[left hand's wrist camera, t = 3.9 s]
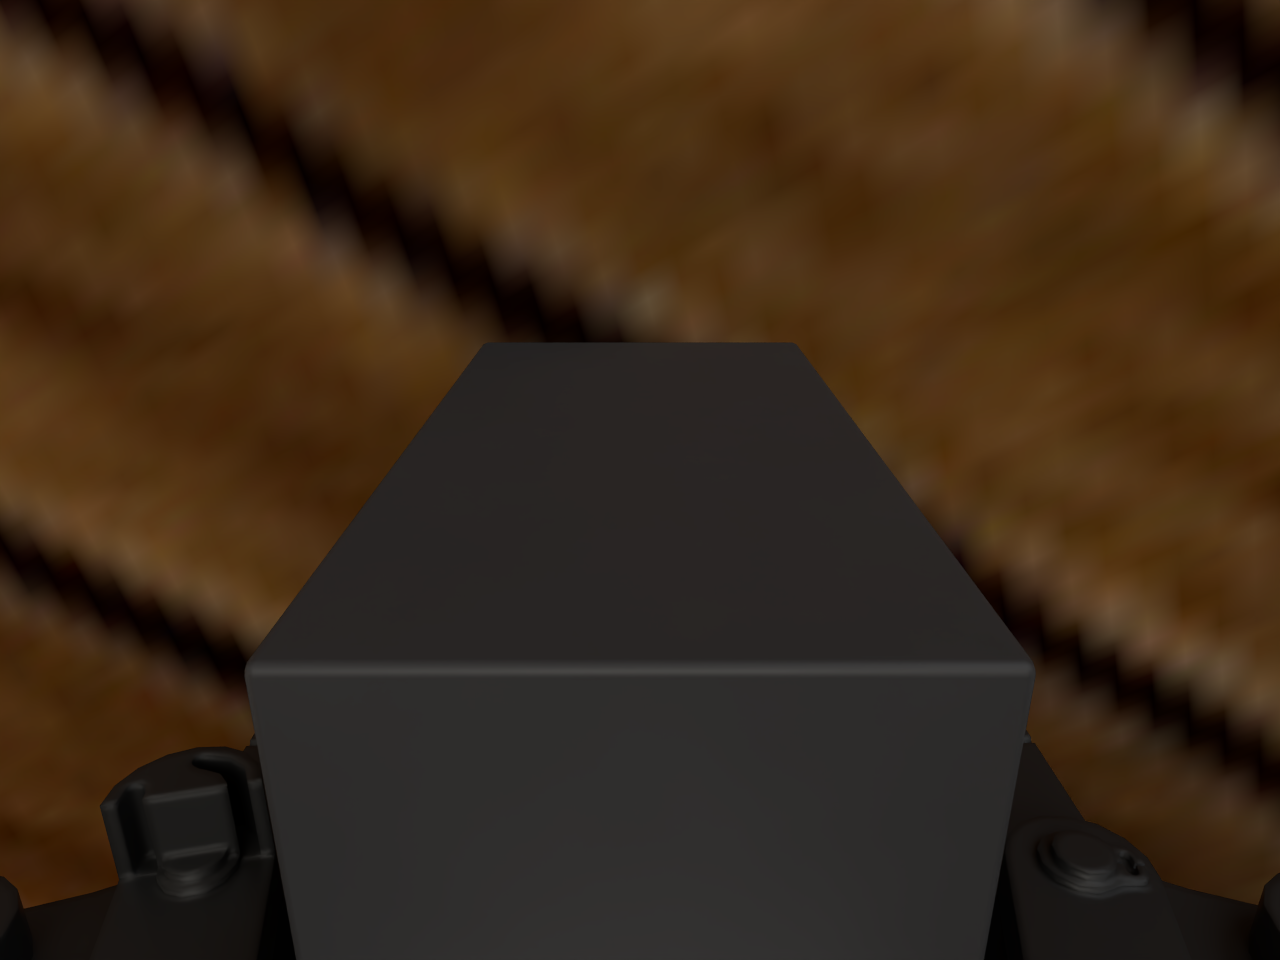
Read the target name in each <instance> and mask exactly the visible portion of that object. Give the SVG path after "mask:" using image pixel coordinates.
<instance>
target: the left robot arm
mask: <svg viewBox="0 0 1280 960" xmlns="http://www.w3.org/2000/svg"><path fill="white" fill-rule="evenodd" d="M100 808H101V812H102V816H103V820H104V824H105V827H106V831H107V835H108V839H109V842H110V846H111V850H112V854H113V858H114V861H115V865H116V869H117V873H118V877H119V882H118V885H116V886H112V887H109V888H106V889H103V890H100V891H96V892H93V893H89V894H85V895H81V896H76V897H72V898H68V899H64V900H59V901H55V902H51V903H47V904H43V905H38V906H34V907H30V908H26V909H23V905H22V902H21V899H20V896H19V893H18V890H17V888H16V887H14V886H13V885H12V884H11V883H10V882H9V881H8V880H7V879H6V878H4V877H2V876H0V960H296V955H295V950H294V944H293V939H292V933H291V928H290V922H289V917H288V911H287V906H286V900H285V895H284V890H283V884H282V879H281V873H280V868H279V862H278V857H277V851H276V846H275V840H274V835H273V829H272V824H271V818H270V813H269V807H268V802H267V796H266V791H265V785H264V780H263V774H262V769H261V763H260V758H259V752H258V747H257V741H256V736H255V734H254V735H253V737H252V739H251V740H250V746H246V748H245V749H244V751H240V750H236V749H232V748H229V747H197V748H193V749H189V750H185V751H181V752H177V753H173V754H169V755H166V756H164V757H162V758H159V759H157V760H155V761H153V762H151V763H149V764H146V765H144V766H142V767H140V768H138V769H137V770H135V771H134V772H133V773H131V774H130V775H129V776H127V777H126V778H124V779H123V780H122V781H120V782H119V783H118V784H116V785H115V786H114V787H113V789H112V790H111V791H110V793H109V794H108V795H107V797H106V798H105V800H104V801H103V802H102V804H101V805H100ZM984 960H1280V873H1278V874H1277V875H1276V876H1275V877H1273V878H1272V879H1271V880H1270V881H1269V882H1268V883H1267V884H1266V885H1265V886H1264V889H1263V892H1262V895H1261V899H1260V902H1259V905H1254V904H1250V903H1245V902H1241V901H1237V900H1233V899H1228V898H1224V897H1220V896H1216V895H1211V894H1207V893H1203V892H1199V891H1195V890H1190V889H1187V888H1184V887H1180V886H1177V885H1174V884H1171V883H1167V882H1164V881H1162V880H1161V878H1160V877H1159V875H1158V874H1157V872H1156V871H1155V869H1154V867H1153V866H1152V864H1151V863H1150V861H1149V860H1148V858H1147V857H1146V856H1145V855H1144V854H1142V853H1141V852H1140V851H1139V850H1138V849H1136V848H1135V847H1134V846H1133V845H1132V844H1131V843H1129V842H1128V841H1127V840H1126V839H1125V838H1123V837H1121V836H1119V835H1117V834H1115V833H1113V832H1111V831H1109V830H1107V829H1105V828H1103V827H1101V826H1099V825H1097V824H1094V823H1091V822H1087V821H1085V820H1084V819H1083V817H1082V816H1081V814H1080V812H1079V811H1078V809H1077V808H1076V806H1075V805H1074V803H1073V802H1072V800H1071V799H1070V797H1069V795H1068V794H1067V792H1066V791H1065V789H1064V788H1063V786H1062V785H1061V783H1060V782H1059V780H1058V778H1057V777H1056V775H1055V774H1054V772H1053V771H1052V769H1051V768H1050V766H1049V765H1048V763H1047V761H1046V760H1045V758H1044V757H1043V755H1042V754H1041V752H1040V751H1039V749H1038V748H1037V746H1036V744H1035V743H1031V737H1030V735H1029V734H1028V732H1027V731H1025V736H1024V742H1023V747H1022V753H1021V758H1020V764H1019V769H1018V775H1017V780H1016V786H1015V791H1014V797H1013V802H1012V808H1011V813H1010V819H1009V824H1008V830H1007V835H1006V841H1005V846H1004V852H1003V857H1002V863H1001V868H1000V874H999V879H998V885H997V890H996V896H995V901H994V907H993V912H992V918H991V923H990V928H989V934H988V939H987V945H986V950H985V956H984Z"/></svg>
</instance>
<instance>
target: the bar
mask: <svg viewBox="0 0 1280 960" xmlns="http://www.w3.org/2000/svg"><path fill="white" fill-rule="evenodd" d="M245 681H246V686H247V692H248V697H249V703H250V708H251V714H252V719H253V725H254V730H255V736H256V741H257V747H258V752H259V758H260V763H261V769H262V774H263V780H264V785H265V791H266V796H267V802H268V807H269V813H270V818H271V824H272V829H273V835H274V840H275V846H276V851H277V857H278V862H279V868H280V873H281V879H282V884H283V890H284V895H285V900H286V906H287V911H288V917H289V922H290V928H291V933H292V939H293V944H294V950H295V955H296V960H984V956H985V950H986V945H987V939H988V934H989V928H990V923H991V918H992V912H993V907H994V901H995V896H996V890H997V885H998V879H999V874H1000V868H1001V863H1002V857H1003V852H1004V846H1005V841H1006V835H1007V830H1008V824H1009V819H1010V813H1011V808H1012V802H1013V797H1014V791H1015V786H1016V780H1017V775H1018V769H1019V764H1020V758H1021V753H1022V747H1023V742H1024V736H1025V731H1026V725H1027V720H1028V714H1029V709H1030V703H1031V698H1032V692H1033V687H1034V681H1035V667H1034V664H1033V661H1032V660H1031V659H1030V657H1029V656H1028V655H1027V653H1026V652H1025V651H1024V649H1023V648H1022V647H1021V645H1020V644H1019V643H1018V641H1017V640H1016V639H1015V637H1014V636H1013V635H1012V633H1011V632H1010V631H1009V629H1008V628H1007V627H1006V625H1005V624H1004V623H1003V621H1002V620H1001V618H1000V617H999V616H998V614H997V613H996V612H995V610H994V609H993V608H992V606H991V605H990V604H989V602H988V601H987V600H986V598H985V597H984V596H983V594H982V593H981V592H980V590H979V589H978V588H977V586H976V585H975V584H974V582H973V581H972V580H971V578H970V577H969V576H968V574H967V573H966V572H965V570H964V569H963V568H962V566H961V565H960V563H959V562H958V561H957V559H956V558H955V557H954V555H953V554H952V553H951V551H950V550H949V549H948V547H947V546H946V545H945V543H944V542H943V541H942V539H941V538H940V537H939V535H938V534H937V533H936V531H935V530H934V529H933V527H932V526H931V525H930V523H929V522H928V521H927V519H926V518H925V517H924V515H923V514H922V512H921V511H920V510H919V508H918V507H917V506H916V504H915V503H914V502H913V500H912V499H911V498H910V496H909V495H908V494H907V492H906V491H905V490H904V488H903V487H902V486H901V484H900V483H899V482H898V480H897V479H896V478H895V476H894V475H893V474H892V472H891V471H890V470H889V468H888V467H887V466H886V464H885V463H884V461H883V460H882V459H881V457H880V456H879V455H878V453H877V452H876V451H875V449H874V448H873V447H872V445H871V444H870V443H869V441H868V440H867V439H866V437H865V436H864V435H863V433H862V432H861V431H860V429H859V428H858V427H857V425H856V424H855V423H854V421H853V420H852V419H851V417H850V416H849V415H848V413H847V412H846V411H845V409H844V408H843V406H842V405H841V404H840V402H839V401H838V400H837V398H836V397H835V396H834V394H833V393H832V392H831V390H830V389H829V388H828V386H827V385H826V384H825V382H824V381H823V380H822V378H821V377H820V376H819V374H818V373H817V372H816V370H815V369H814V368H813V366H812V365H811V364H810V362H809V361H808V360H807V358H806V357H805V355H804V354H803V353H802V351H801V350H800V349H799V347H798V346H797V345H796V344H794V343H486V344H484V345H483V346H482V347H481V349H480V350H479V351H478V353H477V354H476V355H475V357H474V358H473V359H472V361H471V362H470V363H469V365H468V366H467V367H466V369H465V370H464V371H463V373H462V374H461V376H460V377H459V378H458V380H457V381H456V382H455V384H454V385H453V386H452V388H451V389H450V390H449V392H448V393H447V394H446V396H445V397H444V398H443V400H442V401H441V402H440V404H439V405H438V406H437V408H436V409H435V410H434V412H433V413H432V414H431V416H430V417H429V419H428V420H427V421H426V423H425V424H424V425H423V427H422V428H421V429H420V431H419V432H418V433H417V435H416V436H415V437H414V439H413V440H412V441H411V443H410V444H409V445H408V447H407V448H406V449H405V451H404V452H403V453H402V455H401V456H400V457H399V459H398V460H397V461H396V463H395V464H394V466H393V467H392V468H391V470H390V471H389V472H388V474H387V475H386V476H385V478H384V479H383V480H382V482H381V483H380V484H379V486H378V487H377V488H376V490H375V491H374V492H373V494H372V495H371V496H370V498H369V499H368V500H367V502H366V503H365V504H364V506H363V507H362V509H361V510H360V511H359V513H358V514H357V515H356V517H355V518H354V519H353V521H352V522H351V523H350V525H349V526H348V527H347V529H346V530H345V531H344V533H343V534H342V535H341V537H340V538H339V539H338V541H337V542H336V543H335V545H334V546H333V547H332V549H331V550H330V551H329V553H328V554H327V556H326V557H325V558H324V560H323V561H322V562H321V564H320V565H319V566H318V568H317V569H316V570H315V572H314V573H313V574H312V576H311V577H310V578H309V580H308V581H307V582H306V584H305V585H304V586H303V588H302V589H301V590H300V592H299V593H298V594H297V596H296V597H295V599H294V600H293V601H292V603H291V604H290V605H289V607H288V608H287V609H286V611H285V612H284V613H283V615H282V616H281V617H280V619H279V620H278V621H277V623H276V624H275V625H274V627H273V628H272V629H271V631H270V632H269V633H268V635H267V636H266V637H265V639H264V640H263V641H262V643H261V644H260V646H259V647H258V648H257V650H256V651H255V652H254V654H253V655H252V656H251V658H250V659H249V660H248V662H247V665H246V668H245Z"/></svg>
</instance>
